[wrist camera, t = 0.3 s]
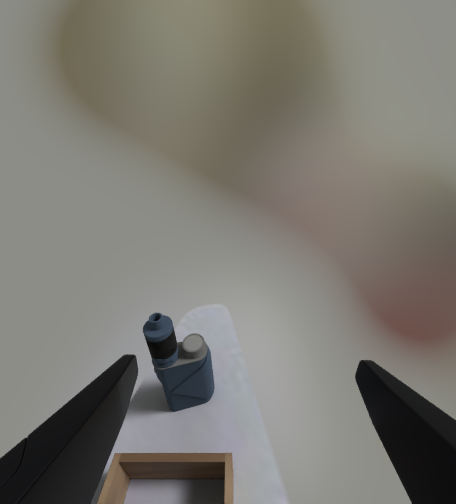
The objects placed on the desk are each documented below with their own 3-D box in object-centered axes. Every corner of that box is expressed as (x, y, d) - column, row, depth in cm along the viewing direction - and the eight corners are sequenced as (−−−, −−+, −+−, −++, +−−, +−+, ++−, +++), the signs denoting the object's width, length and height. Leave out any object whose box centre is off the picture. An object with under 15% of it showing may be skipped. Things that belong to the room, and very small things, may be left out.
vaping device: (165, 389, 24) (140, 309, 19) (212, 377, 25) (202, 297, 20) (165, 415, 22) (137, 333, 16) (217, 401, 23) (207, 319, 17)
